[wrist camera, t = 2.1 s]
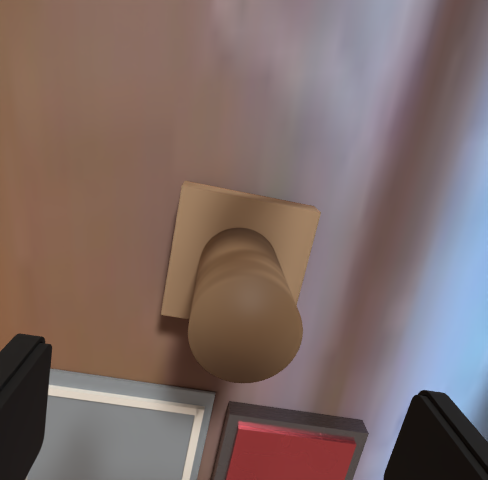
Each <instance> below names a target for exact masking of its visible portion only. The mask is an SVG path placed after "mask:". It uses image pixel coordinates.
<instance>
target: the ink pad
mask: <svg viewBox="0 0 488 480" xmlns="http://www.w3.org/2000/svg"><path fill="white" fill-rule="evenodd" d="M368 434H369V433H368V431H367V429H366V427H365V425H364V423H363V421H362V420H358V419H351V418H344V417H337V416H330V415H323V414H316V413H309V412H302V411H295V410H288V409H281V408H274V407H266V406H259V405H252V404H245V403H238V402H231V401H229V404H228V409H227V413H226V418H225V422H224V426H223V431H222V435H221V439H220V444H219V448H218V452H217V457H216V461H215V465H214V470H213V474H212V478H211V480H352V479H353V477H354V474H355V471H356V468H357V465H358V462H359V459H360V457H361V454H362V451H363V448H364V445H365V442H366V440H367V437H368Z"/></svg>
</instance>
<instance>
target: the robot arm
mask: <svg viewBox="0 0 488 480" xmlns="http://www.w3.org/2000/svg"><path fill="white" fill-rule="evenodd" d="M51 355H52V346H51V344H45V339H44V337H40V336H33V335H26V334H17V335H16V336H15V337H14V338H13V339H12V340H11V341H10V342H9V343H8V344H7V345H6V346H5V347H4V348H3V349H2V350H1V352H0V480H25V479H26V477H27V475H28V473H29V471H30V469H31V467H32V466H33V464H34V462H35V460H36V458H37V456H38V454H39V452H40V450H41V447H42V444H43V440H44V435H45V423H46V412H47V400H48V389H49V378H50V366H51ZM384 480H488V442H487V441H486V440H485V439H484V437H483V436H482V435H481V434H480V433H479V432H478V430H477V429H476V428H475V427H474V426H473V425H472V423H471V422H470V421H469V420H468V419H467V418H466V416H465V415H464V414H463V413H462V412H461V410H460V409H459V408H458V407H457V406H456V405H455V403H454V402H453V401H452V400H451V399H450V398H449V396H447V395H446V394H445V393H441V392H434V391H427V390H423V391H420V392H419V394H418V395H415V396H414V397H413V398H412V400H411V403H410V406H409V408H408V411H407V414H406V416H405V419H404V422H403V424H402V427H401V430H400V433H399V435H398V438H397V441H396V443H395V446H394V449H393V451H392V454H391V457H390V459H389V462H388V465H387V468H386V470H385V473H384Z"/></svg>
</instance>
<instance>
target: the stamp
mask: <svg viewBox="0 0 488 480" xmlns="http://www.w3.org/2000/svg"><path fill="white" fill-rule="evenodd" d="M320 214H321V212H320V211H319V210H318V209H316V208H315V207H314V206H311V205H305V204H300V203H295V202H290V201H285V200H280V199H275V198H270V197H265V196H260V195H255V194H250V193H245V192H239V191H234V190H229V189H224V188H219V187H214V186H209V185H204V184H199V183H194V182H189V181H185V182H184V183H183V185H182V188H181V194H180V201H179V207H178V213H177V219H176V225H175V231H174V237H173V243H172V249H171V255H170V262H169V268H168V274H167V280H166V286H165V292H164V298H163V304H162V310H161V315H166V316H172V317H178V318H184V319H190V320H189V326H188V340H189V345H190V348H191V351H192V353H193V355H194V357H195V359H196V360H197V361H198V363H199V364H200V365H201V366H202V367H203V368H204V369H205V370H206V371H208V372H209V373H211V374H212V375H214V376H216V377H218V378H220V379H223V380H226V381H229V382H234V383H253V382H258V381H262V380H265V379H268V378H270V377H272V376H274V375H276V374H277V373H279V372H280V371H282V370H283V369H284V368H285V367H286V366H288V364H289V363H290V362H291V361H292V360H293V358H294V357H295V355H296V354H297V352H298V350H299V347H300V344H301V341H302V334H303V327H302V320H301V316H300V314H299V311H298V309H297V306H296V305H297V301H298V297H299V293H300V290H301V286H302V282H303V278H304V275H305V271H306V267H307V263H308V259H309V256H310V252H311V248H312V244H313V240H314V237H315V233H316V229H317V225H318V221H319V218H320Z"/></svg>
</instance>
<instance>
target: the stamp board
mask: <svg viewBox="0 0 488 480" xmlns="http://www.w3.org/2000/svg"><path fill="white" fill-rule="evenodd" d="M214 398H215V392H209V391H202V390H195V389H188V388H181V387H174V386H167V385H160V384H153V383H147V382H140V381H133V380H126V379H119V378H112V377H105V376H98V375H91V374H84V373H77V372H70V371H63V370H56V369H50V378H49V389H48V400H47V412H46V423H45V435H44V440H43V444H42V447H41V450H40V452H39V454H38V456H37V458H36V460H35V462H34V464H33V466H32V467H31V469H30V471H29V473H28V475H27V477H26V479H25V480H197V476H198V471H199V467H200V462H201V458H202V453H203V448H204V444H205V439H206V435H207V430H208V425H209V421H210V416H211V412H212V407H213V402H214Z"/></svg>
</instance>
